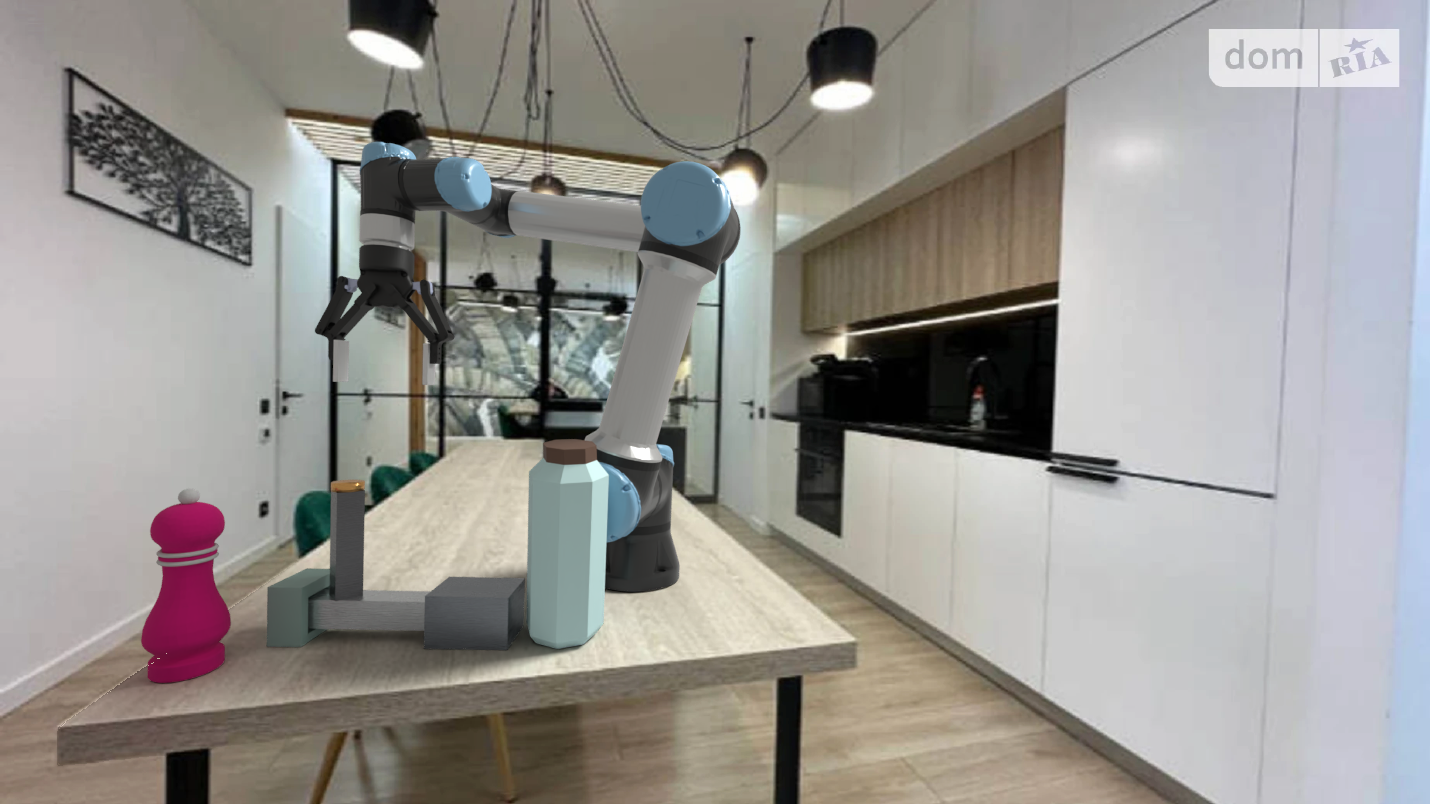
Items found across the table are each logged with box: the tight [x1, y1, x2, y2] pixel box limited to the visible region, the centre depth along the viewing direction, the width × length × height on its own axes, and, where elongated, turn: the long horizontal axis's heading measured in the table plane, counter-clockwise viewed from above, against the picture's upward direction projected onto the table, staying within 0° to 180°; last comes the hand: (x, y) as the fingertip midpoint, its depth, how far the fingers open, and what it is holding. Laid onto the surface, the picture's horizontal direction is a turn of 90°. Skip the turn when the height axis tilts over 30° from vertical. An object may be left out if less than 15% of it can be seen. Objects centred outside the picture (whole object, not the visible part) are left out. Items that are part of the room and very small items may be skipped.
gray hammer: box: [308, 479, 432, 632], centre depth 72 cm, size 18×4×18 cm, turn 93°
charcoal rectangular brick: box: [423, 576, 526, 651], centre depth 73 cm, size 10×7×6 cm
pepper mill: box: [140, 488, 232, 684], centre depth 62 cm, size 7×7×20 cm
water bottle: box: [525, 438, 609, 650], centre depth 73 cm, size 10×10×25 cm
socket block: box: [266, 567, 330, 648], centre depth 72 cm, size 4×7×7 cm, turn 3°
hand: (384, 383), depth 90 cm, fingers open, 13 cm apart
